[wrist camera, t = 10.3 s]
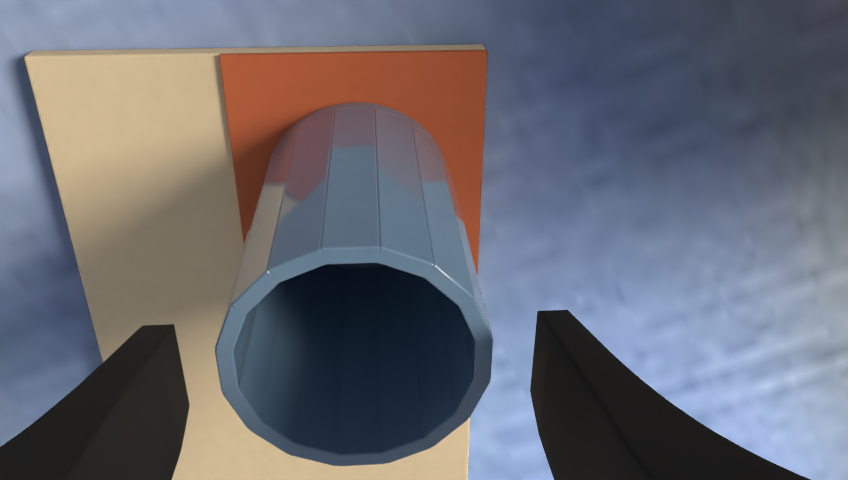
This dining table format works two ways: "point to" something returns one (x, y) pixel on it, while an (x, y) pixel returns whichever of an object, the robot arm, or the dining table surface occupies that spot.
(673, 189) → the dining table surface
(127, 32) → the dining table surface
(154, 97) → the cutting board
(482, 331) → the tumbler
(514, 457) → the dining table surface
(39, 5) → the dining table surface
